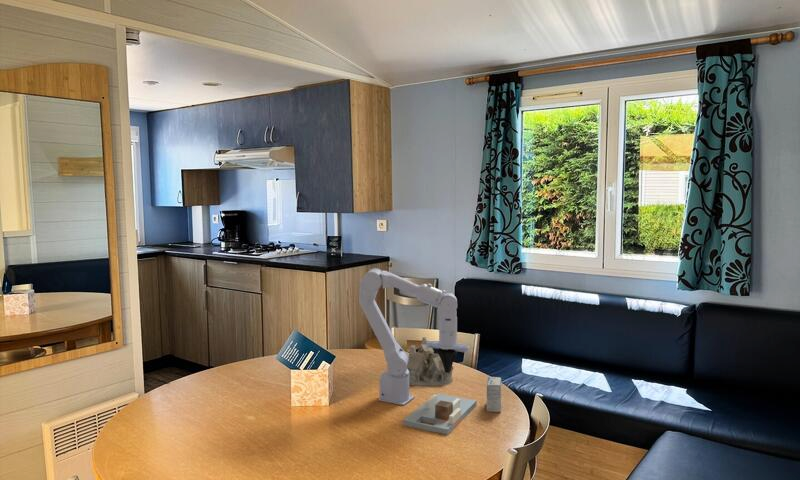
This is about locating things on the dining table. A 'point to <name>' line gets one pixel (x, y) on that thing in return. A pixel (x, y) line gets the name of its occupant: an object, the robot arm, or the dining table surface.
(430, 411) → the deck
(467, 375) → the dining table surface
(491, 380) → the medicine box
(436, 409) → the block
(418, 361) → the ceramic cottage
